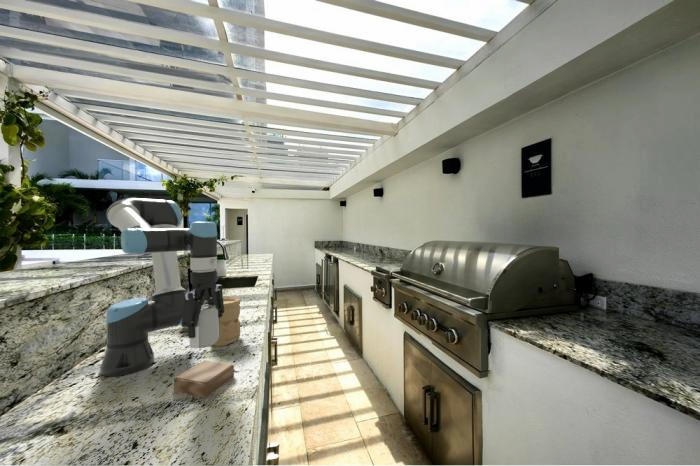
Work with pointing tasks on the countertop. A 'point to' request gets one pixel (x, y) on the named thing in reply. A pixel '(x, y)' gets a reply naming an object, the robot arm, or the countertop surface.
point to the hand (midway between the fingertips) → (205, 341)
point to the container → (229, 322)
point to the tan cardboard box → (203, 378)
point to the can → (208, 326)
